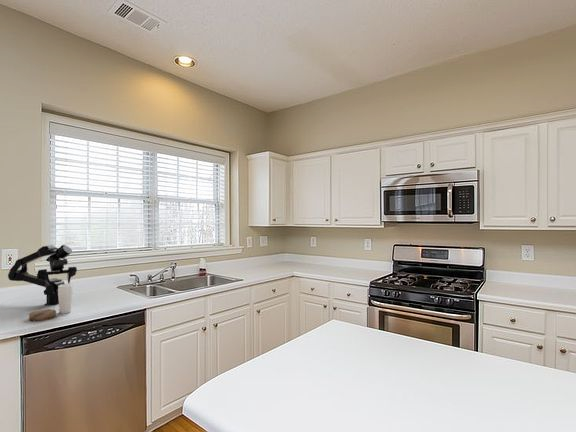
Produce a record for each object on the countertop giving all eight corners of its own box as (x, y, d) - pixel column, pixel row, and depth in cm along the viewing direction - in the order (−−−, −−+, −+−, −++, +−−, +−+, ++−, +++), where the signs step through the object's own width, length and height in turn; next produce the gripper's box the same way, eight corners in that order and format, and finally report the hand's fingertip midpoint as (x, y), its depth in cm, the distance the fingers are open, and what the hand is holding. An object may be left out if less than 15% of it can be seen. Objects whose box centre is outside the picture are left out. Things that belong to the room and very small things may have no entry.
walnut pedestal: (23, 321, 163) (23, 315, 163) (37, 315, 173) (37, 309, 174) (47, 321, 164) (47, 315, 164) (60, 314, 175) (60, 309, 175)
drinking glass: (63, 310, 182) (63, 283, 182) (75, 310, 182) (75, 284, 182) (54, 314, 176) (54, 286, 176) (66, 314, 175) (67, 286, 175)
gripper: (38, 255, 185) (41, 277, 177) (76, 253, 198) (81, 273, 190) (35, 268, 190) (38, 290, 182) (72, 264, 204) (77, 285, 196)
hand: (59, 284), depth 188 cm, fingers open, 9 cm apart
